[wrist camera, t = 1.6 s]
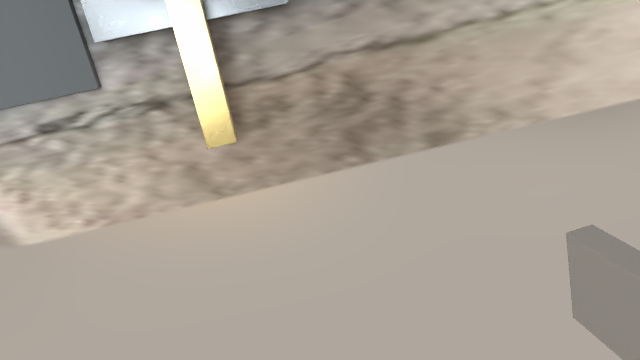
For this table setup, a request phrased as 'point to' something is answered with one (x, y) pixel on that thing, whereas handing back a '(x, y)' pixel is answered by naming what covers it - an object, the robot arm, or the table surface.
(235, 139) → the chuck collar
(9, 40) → the pad
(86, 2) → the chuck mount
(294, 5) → the table surface
